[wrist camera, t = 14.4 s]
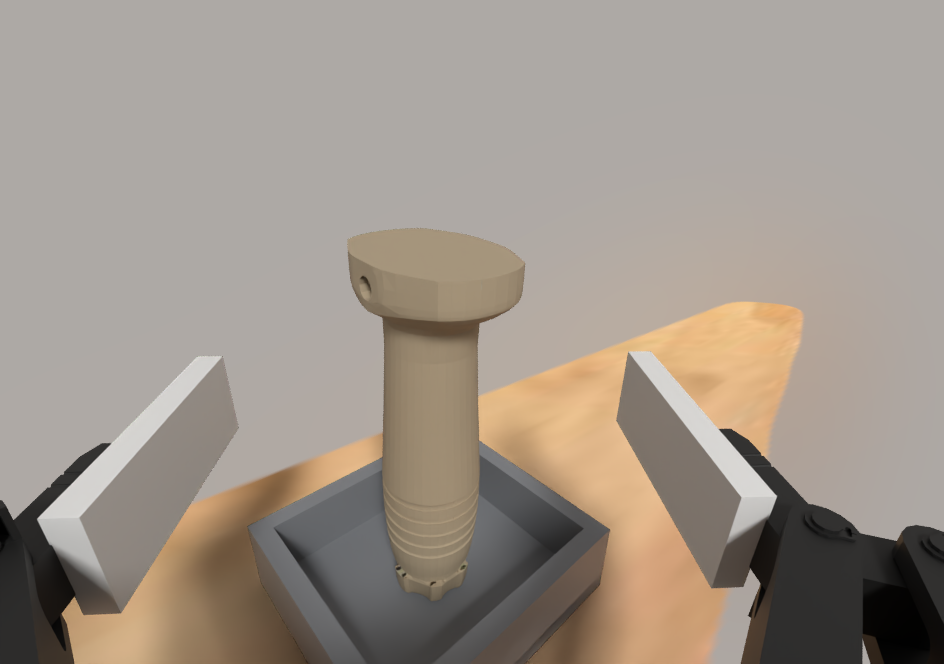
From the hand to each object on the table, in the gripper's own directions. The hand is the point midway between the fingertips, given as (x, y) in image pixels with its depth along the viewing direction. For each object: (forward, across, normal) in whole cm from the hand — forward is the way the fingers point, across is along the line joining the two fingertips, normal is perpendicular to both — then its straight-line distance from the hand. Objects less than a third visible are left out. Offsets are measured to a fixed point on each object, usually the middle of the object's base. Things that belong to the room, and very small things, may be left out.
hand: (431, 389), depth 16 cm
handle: (+2, 0, -11) cm, 11 cm away
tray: (+2, 0, -12) cm, 12 cm away
